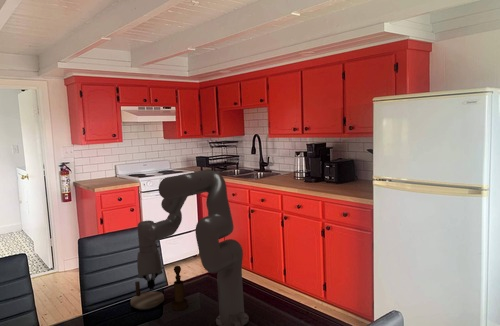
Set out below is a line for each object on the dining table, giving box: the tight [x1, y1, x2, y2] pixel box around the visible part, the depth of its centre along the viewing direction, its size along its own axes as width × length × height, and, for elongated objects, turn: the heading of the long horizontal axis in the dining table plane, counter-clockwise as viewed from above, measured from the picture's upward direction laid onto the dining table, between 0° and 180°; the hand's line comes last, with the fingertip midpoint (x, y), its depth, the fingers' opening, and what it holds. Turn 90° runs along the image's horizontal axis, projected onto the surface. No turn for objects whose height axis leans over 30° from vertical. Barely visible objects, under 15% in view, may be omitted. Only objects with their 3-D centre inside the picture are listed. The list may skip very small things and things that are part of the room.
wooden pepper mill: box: [171, 265, 189, 312], centre depth 163 cm, size 7×6×18 cm
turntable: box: [130, 281, 165, 309], centre depth 167 cm, size 14×14×8 cm
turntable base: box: [136, 304, 160, 311], centre depth 168 cm, size 10×10×1 cm
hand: (151, 288), depth 173 cm, fingers closed
